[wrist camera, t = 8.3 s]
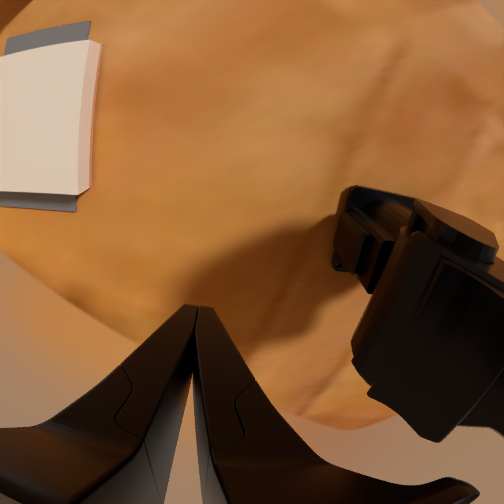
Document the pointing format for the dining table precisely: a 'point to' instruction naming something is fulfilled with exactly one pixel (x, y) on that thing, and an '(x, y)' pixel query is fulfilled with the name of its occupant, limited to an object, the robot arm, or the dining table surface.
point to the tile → (48, 117)
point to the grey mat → (26, 43)
